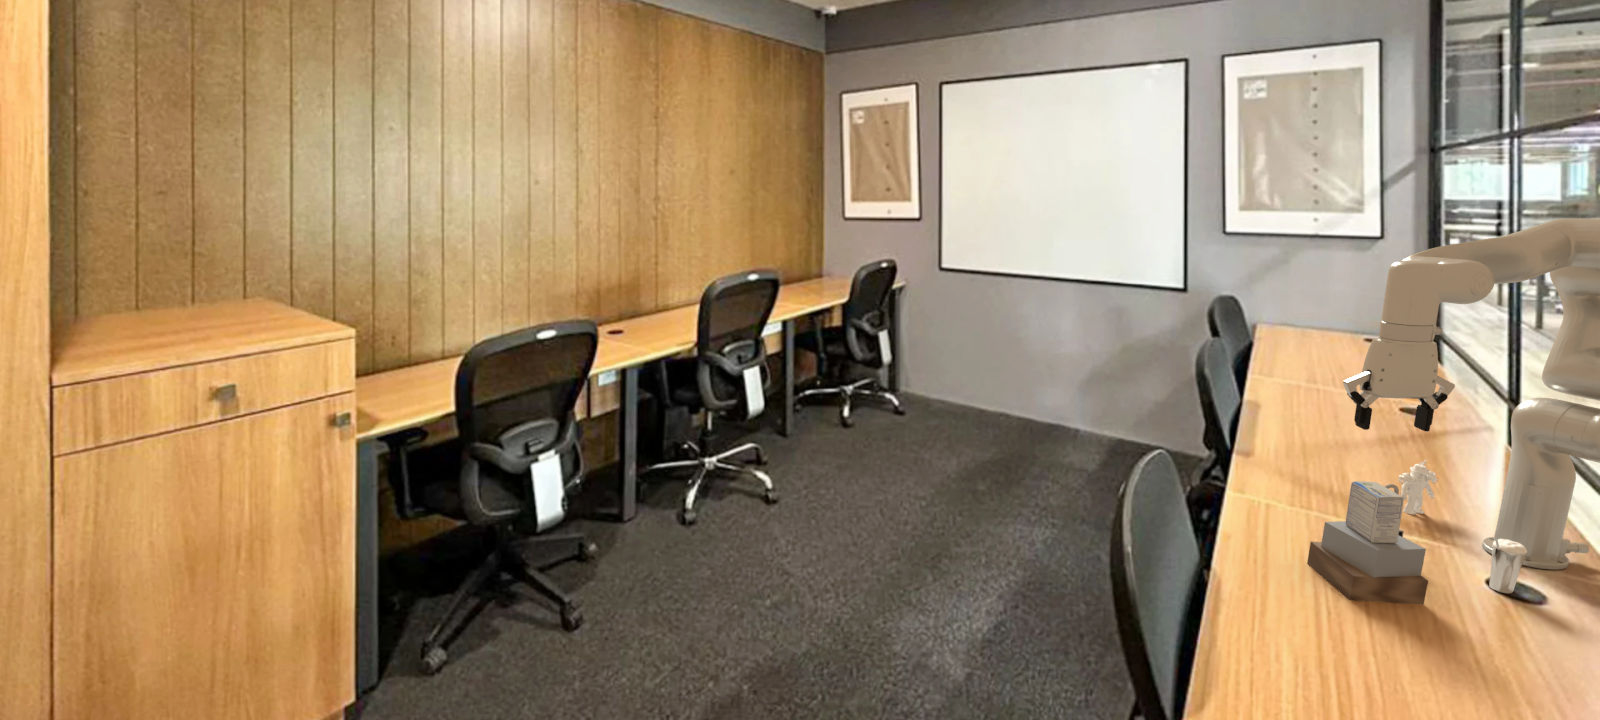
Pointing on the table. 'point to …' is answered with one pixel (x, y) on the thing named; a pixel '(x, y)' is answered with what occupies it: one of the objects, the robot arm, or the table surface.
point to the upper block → (1373, 552)
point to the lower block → (1365, 580)
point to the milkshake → (1506, 564)
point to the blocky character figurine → (1416, 487)
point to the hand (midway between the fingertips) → (1391, 428)
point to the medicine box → (1374, 512)
